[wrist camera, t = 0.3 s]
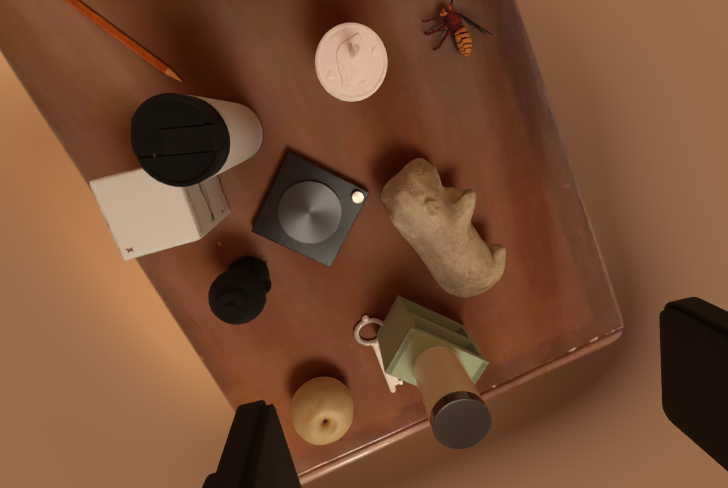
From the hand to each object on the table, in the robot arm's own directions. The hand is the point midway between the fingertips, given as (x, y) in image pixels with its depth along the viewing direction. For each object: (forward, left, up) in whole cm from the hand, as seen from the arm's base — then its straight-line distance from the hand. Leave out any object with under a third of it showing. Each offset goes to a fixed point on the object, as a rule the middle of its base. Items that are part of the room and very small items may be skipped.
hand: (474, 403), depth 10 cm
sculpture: (+1, +11, -42) cm, 43 cm away
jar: (+14, +16, -32) cm, 39 cm away
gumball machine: (+17, -6, -42) cm, 45 cm away
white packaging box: (+10, -16, -42) cm, 46 cm away
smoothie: (-9, -6, -42) cm, 43 cm away
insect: (-16, +1, -41) cm, 43 cm away
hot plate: (+6, -3, -41) cm, 42 cm away
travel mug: (+2, -14, -42) cm, 44 cm away
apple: (+28, +9, -42) cm, 51 cm away
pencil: (-2, -30, -42) cm, 51 cm away
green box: (+14, +16, -41) cm, 47 cm away
